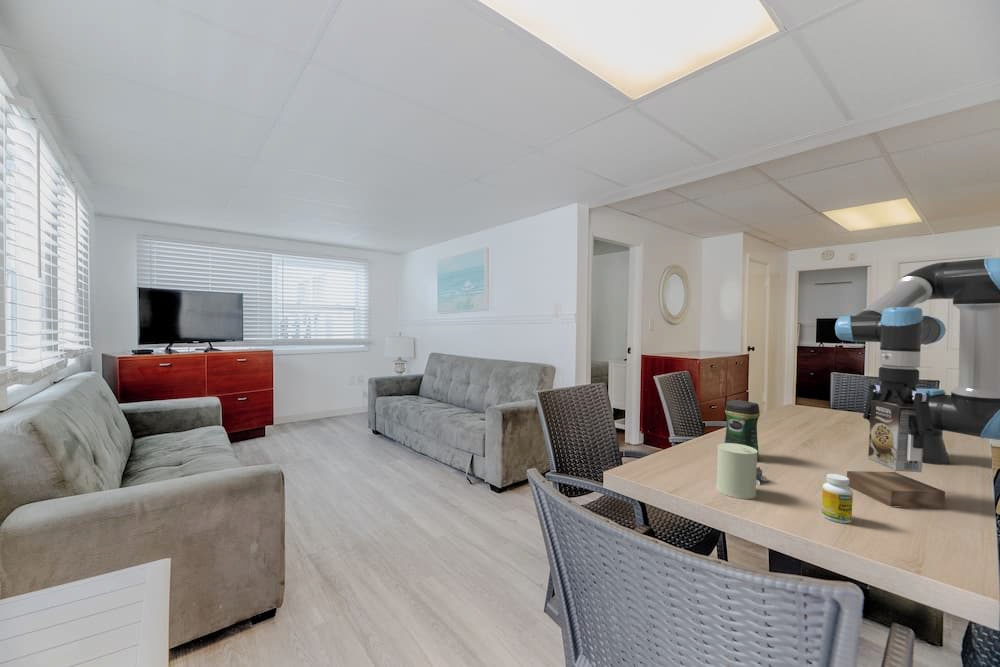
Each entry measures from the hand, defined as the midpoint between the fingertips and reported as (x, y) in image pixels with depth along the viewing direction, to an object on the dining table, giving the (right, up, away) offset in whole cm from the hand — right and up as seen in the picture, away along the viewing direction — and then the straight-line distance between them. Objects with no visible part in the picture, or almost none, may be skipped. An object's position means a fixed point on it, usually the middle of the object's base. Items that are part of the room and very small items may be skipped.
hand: (894, 453), depth 107 cm
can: (-40, -11, +2) cm, 42 cm away
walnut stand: (0, -11, 0) cm, 11 cm away
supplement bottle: (-25, -11, -12) cm, 30 cm away
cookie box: (0, -3, 0) cm, 3 cm away
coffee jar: (-22, -10, +30) cm, 39 cm away
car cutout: (-27, -11, +11) cm, 31 cm away
